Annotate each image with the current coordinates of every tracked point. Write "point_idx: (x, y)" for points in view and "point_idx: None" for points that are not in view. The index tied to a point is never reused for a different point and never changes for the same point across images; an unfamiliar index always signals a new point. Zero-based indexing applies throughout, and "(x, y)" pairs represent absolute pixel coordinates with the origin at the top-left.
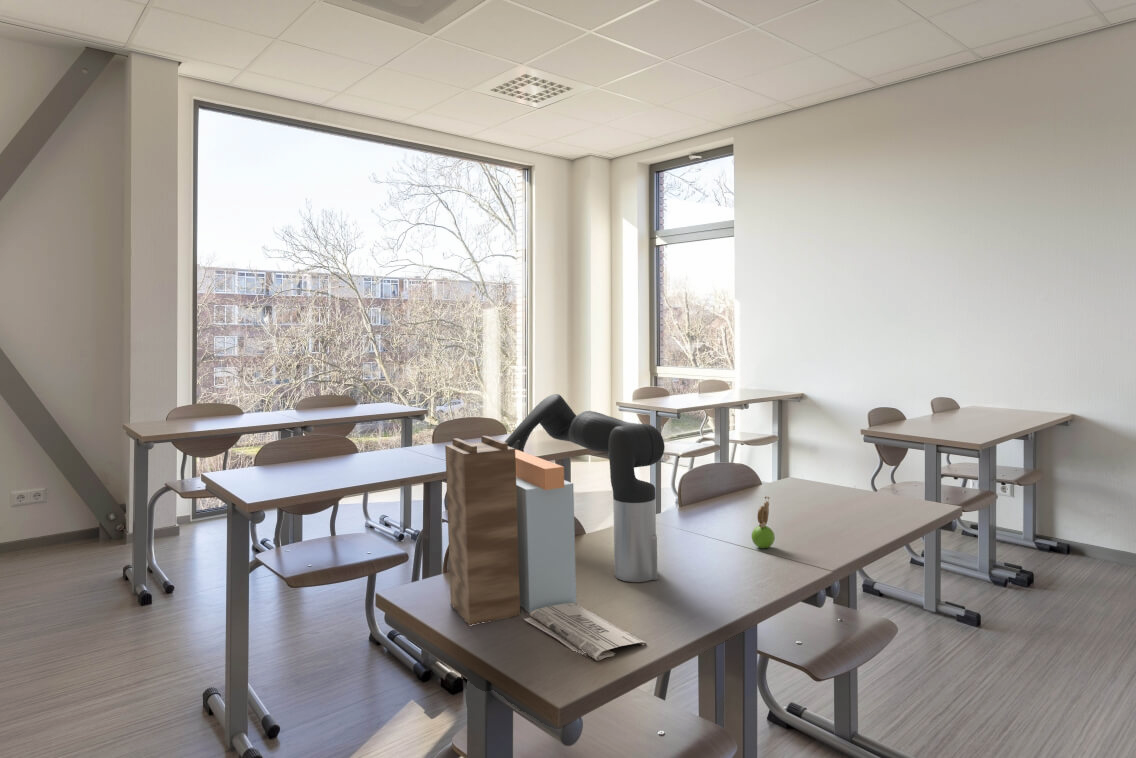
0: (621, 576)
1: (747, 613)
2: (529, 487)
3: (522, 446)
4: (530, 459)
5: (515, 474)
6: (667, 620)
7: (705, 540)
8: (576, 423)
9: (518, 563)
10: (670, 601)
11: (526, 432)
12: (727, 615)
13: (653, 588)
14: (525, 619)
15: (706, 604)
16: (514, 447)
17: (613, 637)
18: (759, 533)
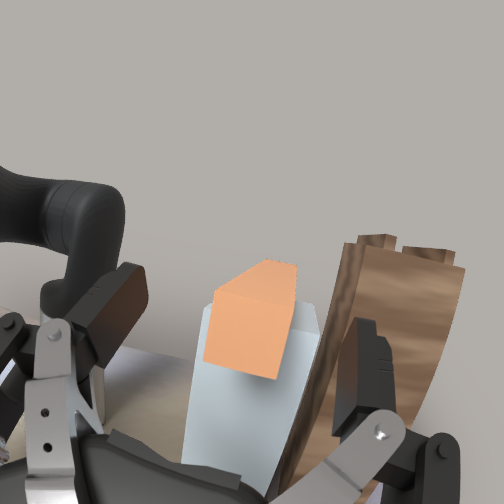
0: (103, 419)
1: (125, 346)
2: (303, 304)
3: (14, 314)
4: (278, 271)
5: (336, 282)
6: (175, 375)
7: None
8: None
9: (301, 404)
10: (134, 381)
11: None
12: (137, 353)
13: (108, 395)
14: (286, 441)
15: (123, 363)
16: (113, 318)
17: None
18: None
